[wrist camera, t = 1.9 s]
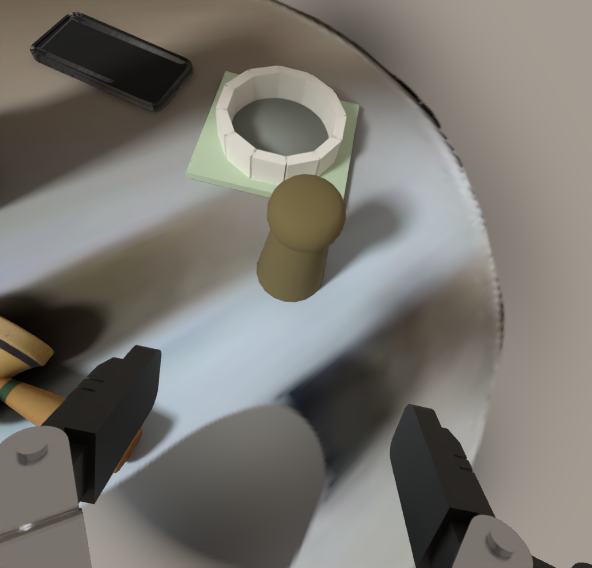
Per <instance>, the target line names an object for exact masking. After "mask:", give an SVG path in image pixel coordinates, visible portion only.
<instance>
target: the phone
mask: <svg viewBox="0 0 592 568" xmlns="http://www.w3.org/2000/svg"><path fill="white" fill-rule="evenodd" d="M30 52H31V53H32V55H33V57H34V59H35V60H36V61H38V62H39V63H42V64H44V65H46V66H48V67H51V68H53V69H55V70H58V71H60V72H62V73H64V74H67V75H69V76H71V77H74V78H76V79H78V80H80V81H83V82H85V83H87V84H90V85H92V86H94V87H96V88H99V89H101V90H103V91H106V92H108V93H110V94H112V95H115V96H117V97H119V98H122V99H124V100H126V101H128V102H131V103H133V104H135V105H137V106H140V107H142V108H144V109H147V110H149V111H154V112H156V111H160V110H163V109H164V108H165V107H166V106H167V104H168V103H169V102H170V101H171V100H172V98H173V97H174V96H175V95H176V93H177V92H178V91H179V90H180V89H181V87H182V86H183V85H184V84H185V82H186V81H187V80H188V79H189V78H190V76H191V75H192V73H193V69H192V64H191V62H190V61H189V60H188V59H186V58H184V57H182V56H180V55H177V54H175V53H173V52H170V51H168V50H166V49H163V48H161V47H159V46H156V45H154V44H152V43H149V42H147V41H145V40H142V39H140V38H138V37H136V36H133V35H131V34H129V33H126V32H124V31H122V30H119V29H117V28H115V27H112V26H110V25H108V24H105V23H103V22H101V21H98V20H96V19H94V18H91V17H89V16H87V15H85V14H82V13H78V12H73V13H69V14H67V15H66V16H65V17H64V18H62V19H61V20H60V21H59V22H58V23H57V24H55V25H54V26H53V27H52V28H51V29H50V30H48V31H47V32H46V33H45V34H44V35H43V36H42V37H40V38H39V39H38V40H37V41H36V42H35V43H33V44H32V45H31V47H30ZM177 88H178V89H177ZM176 89H177V90H176ZM175 90H176V92H175V93H174V91H175ZM167 101H168V102H167Z"/></svg>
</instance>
